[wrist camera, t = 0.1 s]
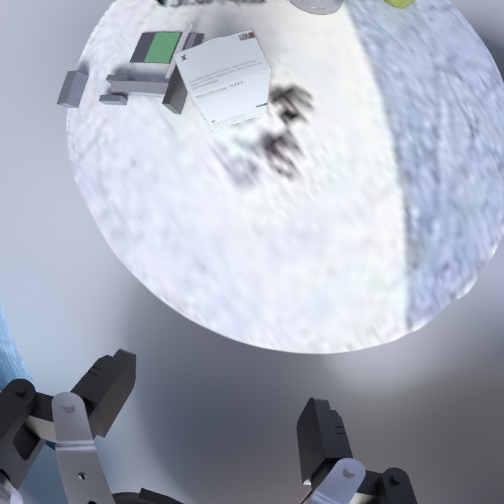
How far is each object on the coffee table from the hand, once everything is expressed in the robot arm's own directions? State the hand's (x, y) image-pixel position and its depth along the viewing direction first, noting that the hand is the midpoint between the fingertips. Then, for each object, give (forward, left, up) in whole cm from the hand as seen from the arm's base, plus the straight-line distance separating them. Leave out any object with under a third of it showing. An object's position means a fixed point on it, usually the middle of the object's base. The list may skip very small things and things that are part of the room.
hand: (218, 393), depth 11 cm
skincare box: (-20, -7, -29) cm, 36 cm away
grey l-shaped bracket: (-24, -20, -28) cm, 42 cm away
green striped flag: (-24, -26, -29) cm, 46 cm away
